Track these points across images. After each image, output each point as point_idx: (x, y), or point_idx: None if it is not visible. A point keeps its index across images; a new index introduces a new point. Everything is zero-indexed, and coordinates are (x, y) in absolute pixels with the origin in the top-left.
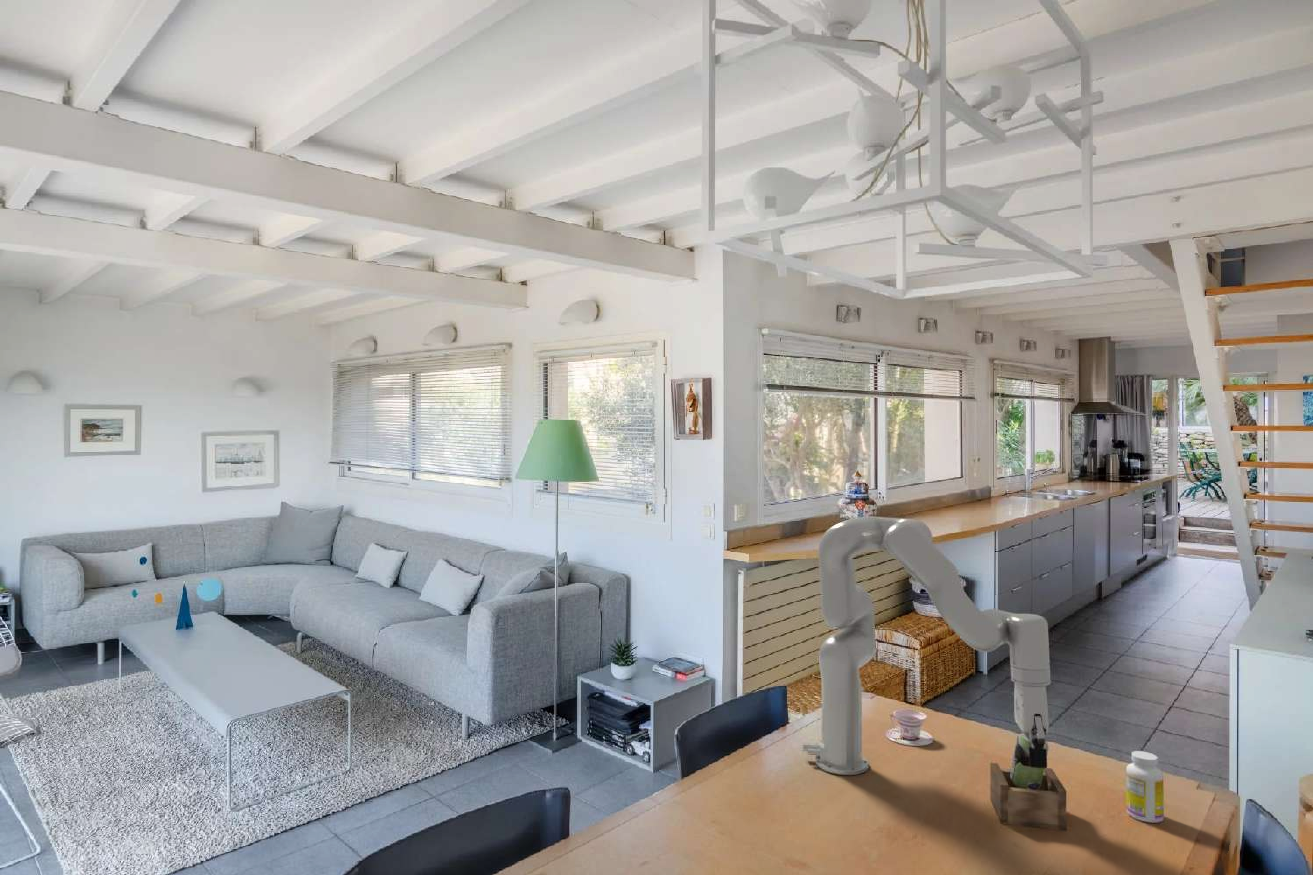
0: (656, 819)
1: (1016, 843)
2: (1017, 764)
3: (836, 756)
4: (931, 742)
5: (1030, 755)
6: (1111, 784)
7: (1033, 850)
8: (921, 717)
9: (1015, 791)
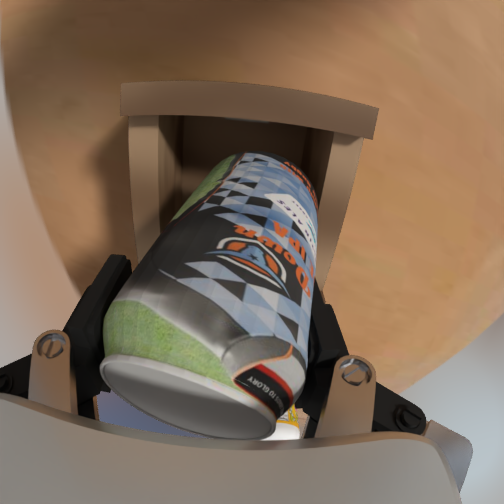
0: None
1: (73, 107)
2: (196, 199)
3: None
4: None
5: (89, 293)
6: (377, 360)
7: (55, 141)
8: None
9: (130, 140)
